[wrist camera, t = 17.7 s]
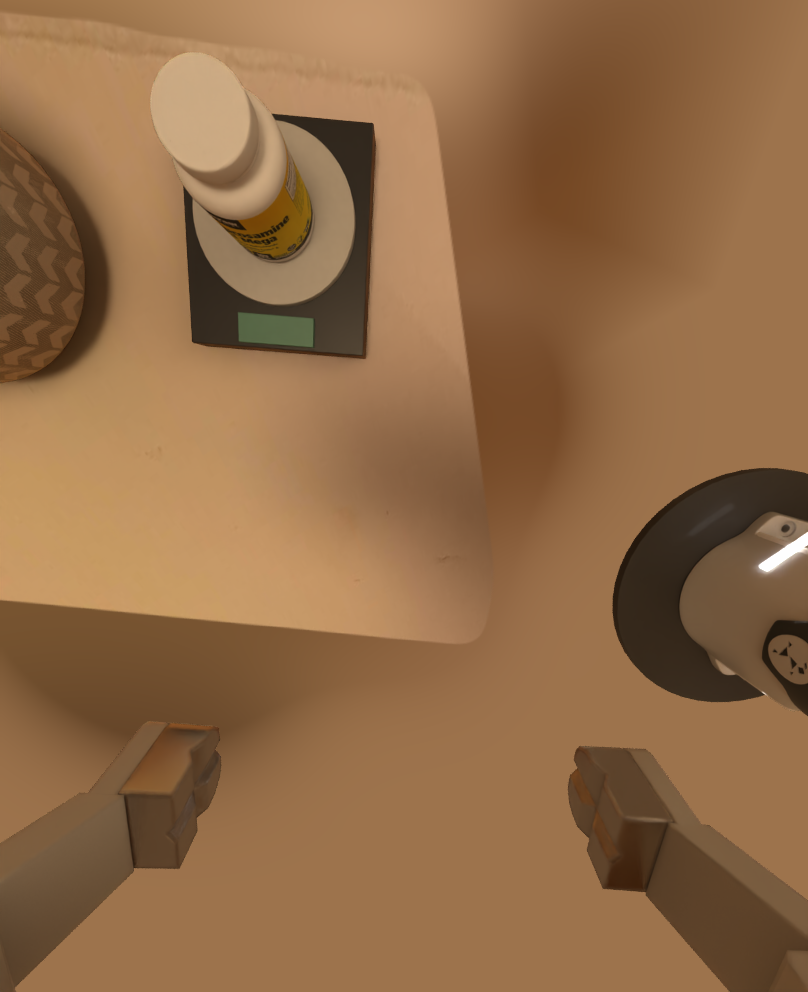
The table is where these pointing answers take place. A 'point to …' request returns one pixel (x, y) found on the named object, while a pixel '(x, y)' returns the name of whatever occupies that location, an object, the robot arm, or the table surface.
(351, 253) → the scale
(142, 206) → the table surface
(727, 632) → the robot arm
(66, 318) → the planter
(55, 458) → the table surface
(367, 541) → the table surface
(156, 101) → the pill bottle
